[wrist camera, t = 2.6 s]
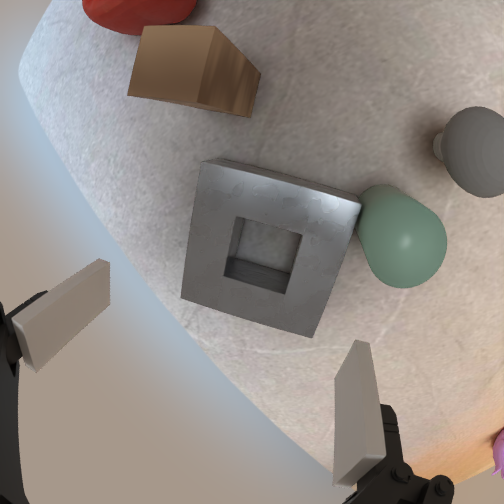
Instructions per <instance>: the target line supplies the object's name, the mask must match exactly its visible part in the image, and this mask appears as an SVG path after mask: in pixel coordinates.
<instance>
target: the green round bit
mask: <svg viewBox="0 0 504 504" xmlns="http://www.w3.org/2000/svg"><path fill="white" fill-rule="evenodd" d="M358 200H359V202H360V203H361V208H360V211H359V214H358V217H357V220H356V223H355V226H354V227H355V229H356V232H357V234H358V237H359V239H360V242H361V245H362V247H363V250H364V252H365V255H366V258H367V260H368V263H369V266H370V268H371V270H372V272H373V273H374V274H375V276H376V277H377V278H378V279H379V280H380V281H382V282H383V283H385V284H387V285H389V286H392V287H396V288H410V287H415V286H418V285H420V284H422V283H424V282H425V281H427V280H428V279H430V278H431V277H432V276H433V275H434V274H435V273H436V272H437V270H438V269H439V267H440V266H441V264H442V262H443V260H444V257H445V254H446V249H447V236H446V231H445V228H444V226H443V224H442V222H441V220H440V219H439V218H438V216H437V215H436V214H435V213H434V212H432V211H431V210H430V209H428V208H427V207H425V206H424V205H422V204H421V203H419V202H418V201H416V200H415V199H413V198H412V197H410V196H409V195H407V194H406V193H404V192H403V191H401V190H400V189H398V188H396V187H394V186H391V185H376V186H373V187H371V188H369V189H367V190H366V191H364V192H363V193H362V194H361V195H360V197H359V198H358Z"/></svg>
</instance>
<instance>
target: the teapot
mask: <svg viewBox="0 0 504 504" xmlns="http://www.w3.org/2000/svg"><path fill="white" fill-rule="evenodd" d="M493 458H494V461H495V465H496V467H495V471H494V473H493V474H492V475H494V474H496V473H497V472H498V471H500V470H501V476H502V478H503V479H504V429H503V430H502V431H501V432H500V434H499V435H498V436H497V438H496V441H495V443H494V446H493Z"/></svg>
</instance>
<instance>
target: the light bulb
mask: <svg viewBox="0 0 504 504" xmlns="http://www.w3.org/2000/svg"><path fill="white" fill-rule="evenodd" d="M433 150H434V153H435V155H436V157H437V158H438V159H439V160H440V161H442V162H444V164H445V166H446V168H447V171H448V172H449V174H450V175H451V177H452V179H453V180H454V181H455V182H456V183H457V184H458V185H459V186H460V187H461V188H462V189H464V190H465V191H466V192H468V193H470V194H472V195H475V196H477V197H482V198H491V197H495V196H498V195H501V194H503V193H504V118H503V117H502V116H501V115H500V114H498V113H496V112H495V111H493V110H491V109H488V108H485V107H477V106H475V107H470V108H466V109H463V110H462V111H460V112H458V113H457V114H455V115H454V116H453V117H452V118H451V119H450V121H449V122H448V124H447V125H446V127H445V130H444V132H441V133H439V134H437V135H436V137H435V139H434V141H433Z"/></svg>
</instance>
